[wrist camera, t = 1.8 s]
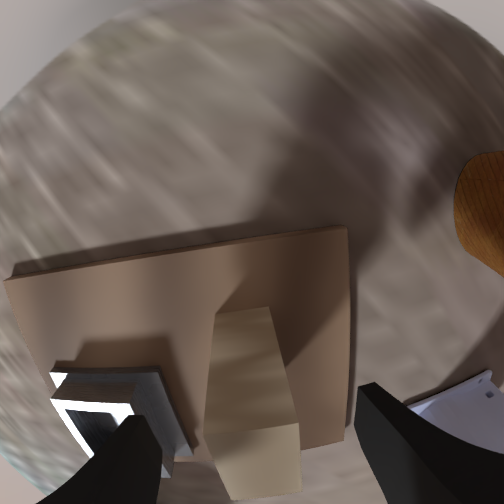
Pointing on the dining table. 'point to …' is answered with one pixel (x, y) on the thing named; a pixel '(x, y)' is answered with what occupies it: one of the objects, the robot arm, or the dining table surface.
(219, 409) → the tan wooden block
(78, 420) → the grey square socket
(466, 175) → the disposable coffee cup
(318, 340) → the walnut board
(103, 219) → the dining table surface
